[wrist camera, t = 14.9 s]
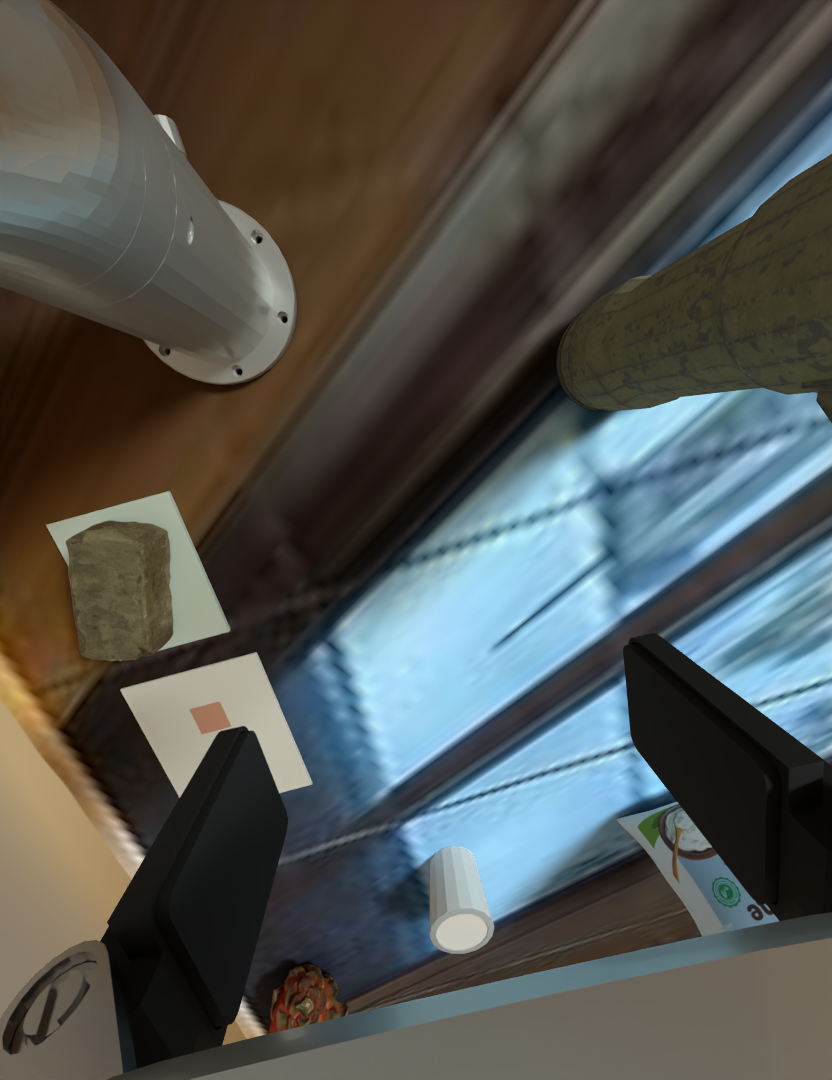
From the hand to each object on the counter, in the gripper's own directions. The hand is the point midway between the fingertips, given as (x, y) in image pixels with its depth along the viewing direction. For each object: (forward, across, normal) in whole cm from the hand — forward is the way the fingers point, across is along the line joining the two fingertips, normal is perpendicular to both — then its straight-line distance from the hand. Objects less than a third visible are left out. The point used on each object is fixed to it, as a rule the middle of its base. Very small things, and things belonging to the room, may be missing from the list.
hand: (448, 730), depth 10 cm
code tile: (+28, +24, +19) cm, 42 cm away
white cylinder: (+29, +4, +44) cm, 52 cm away
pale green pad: (+28, +25, +1) cm, 38 cm away
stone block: (+28, +25, 0) cm, 37 cm away
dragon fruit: (+29, +26, +58) cm, 69 cm away
